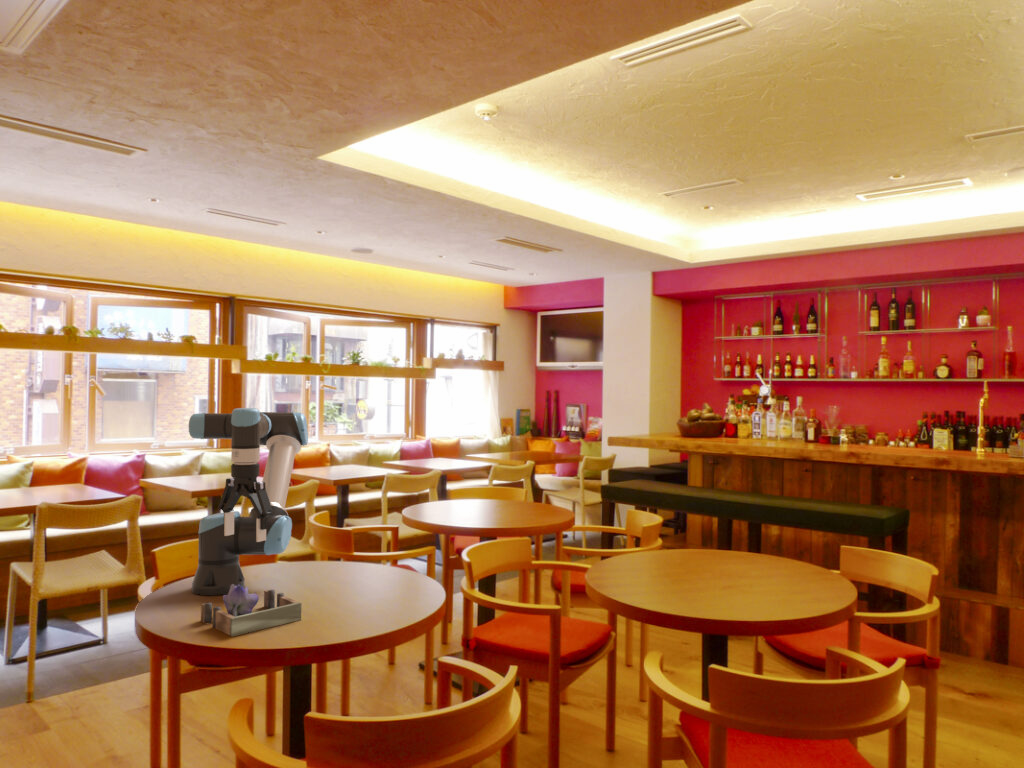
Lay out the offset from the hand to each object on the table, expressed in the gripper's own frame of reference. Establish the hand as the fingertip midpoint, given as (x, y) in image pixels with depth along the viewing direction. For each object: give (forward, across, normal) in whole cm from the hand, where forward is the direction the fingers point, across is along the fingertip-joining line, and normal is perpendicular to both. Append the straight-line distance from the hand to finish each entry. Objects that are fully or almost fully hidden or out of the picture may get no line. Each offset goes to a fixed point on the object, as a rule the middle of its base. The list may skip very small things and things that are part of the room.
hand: (245, 538), depth 200 cm
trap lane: (+19, +11, -7) cm, 23 cm away
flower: (+20, +6, -6) cm, 21 cm away
